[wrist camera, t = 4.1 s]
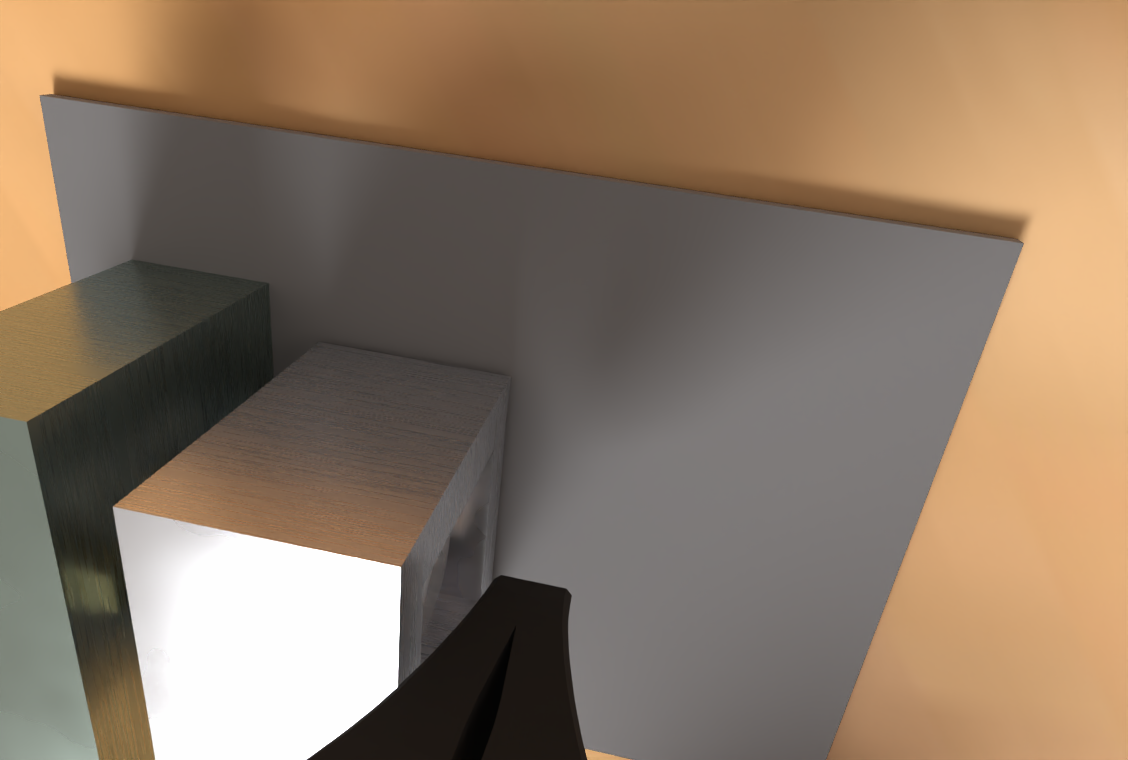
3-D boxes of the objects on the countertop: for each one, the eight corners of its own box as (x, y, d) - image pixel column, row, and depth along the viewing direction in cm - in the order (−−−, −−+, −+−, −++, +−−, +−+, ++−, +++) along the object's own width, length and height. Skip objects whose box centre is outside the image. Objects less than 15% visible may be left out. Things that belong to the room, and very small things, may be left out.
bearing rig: (488, 315, 15) (355, 487, 9) (465, 621, 19) (356, 883, 13) (98, 247, 16) (-241, 368, 10) (144, 551, 20) (-91, 768, 14)
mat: (1016, 238, 13) (1023, 243, 13) (808, 789, 19) (810, 800, 19) (51, 94, 15) (39, 95, 15) (140, 636, 21) (133, 644, 21)
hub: (510, 376, 15) (400, 567, 10) (489, 609, 18) (392, 862, 12) (319, 342, 16) (112, 506, 10) (325, 574, 18) (162, 803, 13)
